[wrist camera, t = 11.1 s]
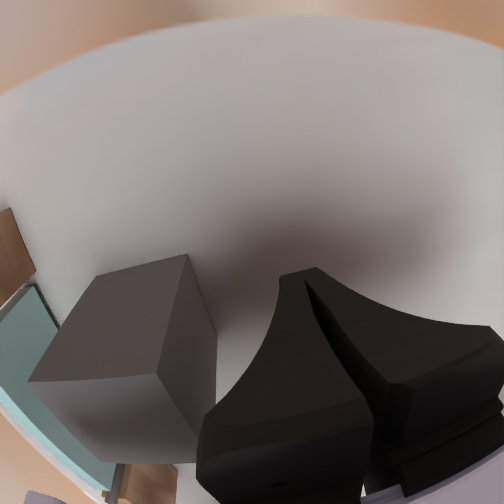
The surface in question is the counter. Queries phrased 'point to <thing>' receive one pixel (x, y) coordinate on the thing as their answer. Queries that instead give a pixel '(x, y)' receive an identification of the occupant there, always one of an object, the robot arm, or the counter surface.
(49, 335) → the door
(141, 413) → the block
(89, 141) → the counter surface
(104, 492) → the wall
